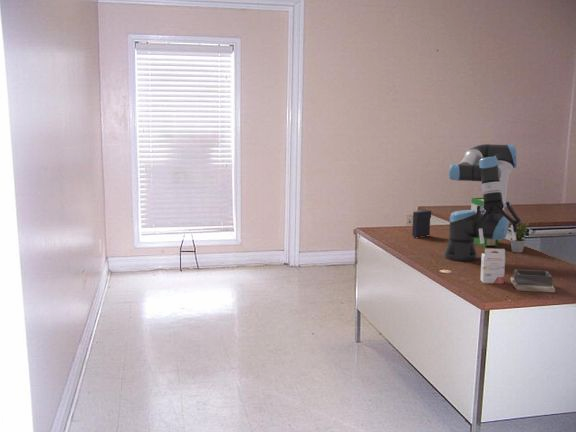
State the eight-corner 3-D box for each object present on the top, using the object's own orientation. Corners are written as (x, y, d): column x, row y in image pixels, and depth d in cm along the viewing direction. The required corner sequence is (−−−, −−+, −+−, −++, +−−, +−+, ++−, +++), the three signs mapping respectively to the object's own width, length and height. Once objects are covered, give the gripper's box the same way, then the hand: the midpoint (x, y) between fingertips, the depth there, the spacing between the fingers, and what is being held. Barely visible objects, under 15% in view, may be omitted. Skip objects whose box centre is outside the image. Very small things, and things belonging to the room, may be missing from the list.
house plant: (514, 246, 288) (516, 216, 286) (538, 251, 277) (540, 220, 274) (497, 250, 281) (499, 219, 278) (521, 255, 269) (523, 223, 267)
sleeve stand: (510, 280, 228) (511, 267, 227) (546, 282, 225) (547, 269, 224) (516, 290, 214) (517, 276, 213) (555, 292, 211) (556, 278, 210)
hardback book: (497, 246, 288) (500, 202, 284) (484, 247, 287) (487, 202, 283) (481, 239, 306) (484, 197, 301) (469, 240, 305) (471, 197, 300)
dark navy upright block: (424, 234, 319) (425, 209, 316) (430, 236, 315) (431, 210, 313) (411, 237, 313) (412, 211, 310) (416, 238, 309) (417, 212, 307)
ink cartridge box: (500, 280, 228) (503, 246, 225) (504, 283, 223) (506, 249, 220) (479, 279, 229) (481, 245, 226) (482, 283, 224) (484, 248, 221)
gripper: (460, 196, 238) (466, 244, 236) (519, 187, 223) (526, 239, 221) (467, 197, 244) (472, 244, 242) (524, 188, 228) (531, 238, 226)
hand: (498, 242), depth 231 cm, fingers open, 13 cm apart
